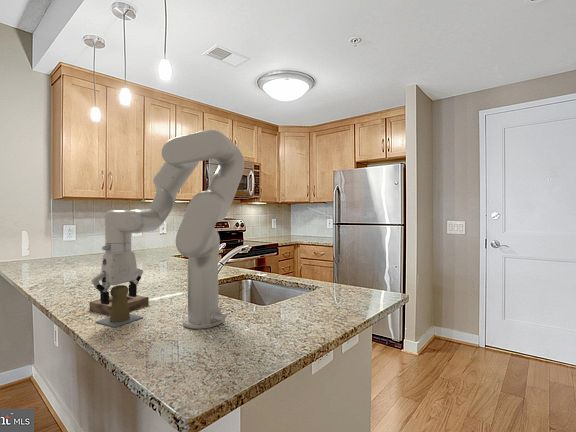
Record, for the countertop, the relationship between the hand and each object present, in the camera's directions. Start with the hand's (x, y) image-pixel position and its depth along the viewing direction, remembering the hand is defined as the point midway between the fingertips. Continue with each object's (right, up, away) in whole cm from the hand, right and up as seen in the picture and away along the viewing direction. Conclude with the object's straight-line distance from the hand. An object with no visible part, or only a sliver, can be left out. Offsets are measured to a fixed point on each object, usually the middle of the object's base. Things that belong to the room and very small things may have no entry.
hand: (119, 300), depth 105 cm
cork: (0, -7, 0) cm, 7 cm away
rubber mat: (0, -7, 0) cm, 7 cm away
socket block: (-7, -7, +14) cm, 17 cm away
